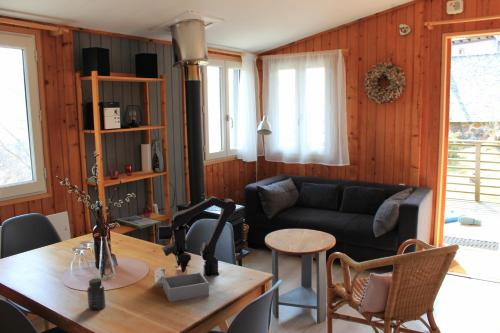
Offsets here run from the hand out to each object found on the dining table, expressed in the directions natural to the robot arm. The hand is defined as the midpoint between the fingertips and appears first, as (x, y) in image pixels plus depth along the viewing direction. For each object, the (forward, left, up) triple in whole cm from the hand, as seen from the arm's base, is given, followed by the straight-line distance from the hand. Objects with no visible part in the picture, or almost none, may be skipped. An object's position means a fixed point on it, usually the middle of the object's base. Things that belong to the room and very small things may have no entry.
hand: (181, 269), depth 217 cm
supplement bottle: (+40, +19, -4) cm, 45 cm away
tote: (+2, +19, -4) cm, 20 cm away
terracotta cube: (0, 0, -4) cm, 4 cm away
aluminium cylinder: (+11, +5, -4) cm, 13 cm away
